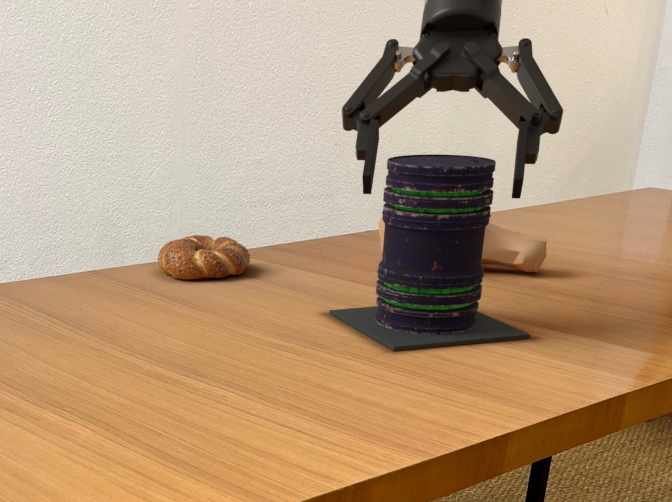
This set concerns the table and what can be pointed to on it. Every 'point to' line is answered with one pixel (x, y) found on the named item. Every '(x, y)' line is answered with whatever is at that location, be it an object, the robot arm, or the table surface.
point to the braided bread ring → (203, 257)
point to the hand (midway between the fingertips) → (440, 187)
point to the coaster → (398, 340)
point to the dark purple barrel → (433, 242)
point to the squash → (505, 248)
